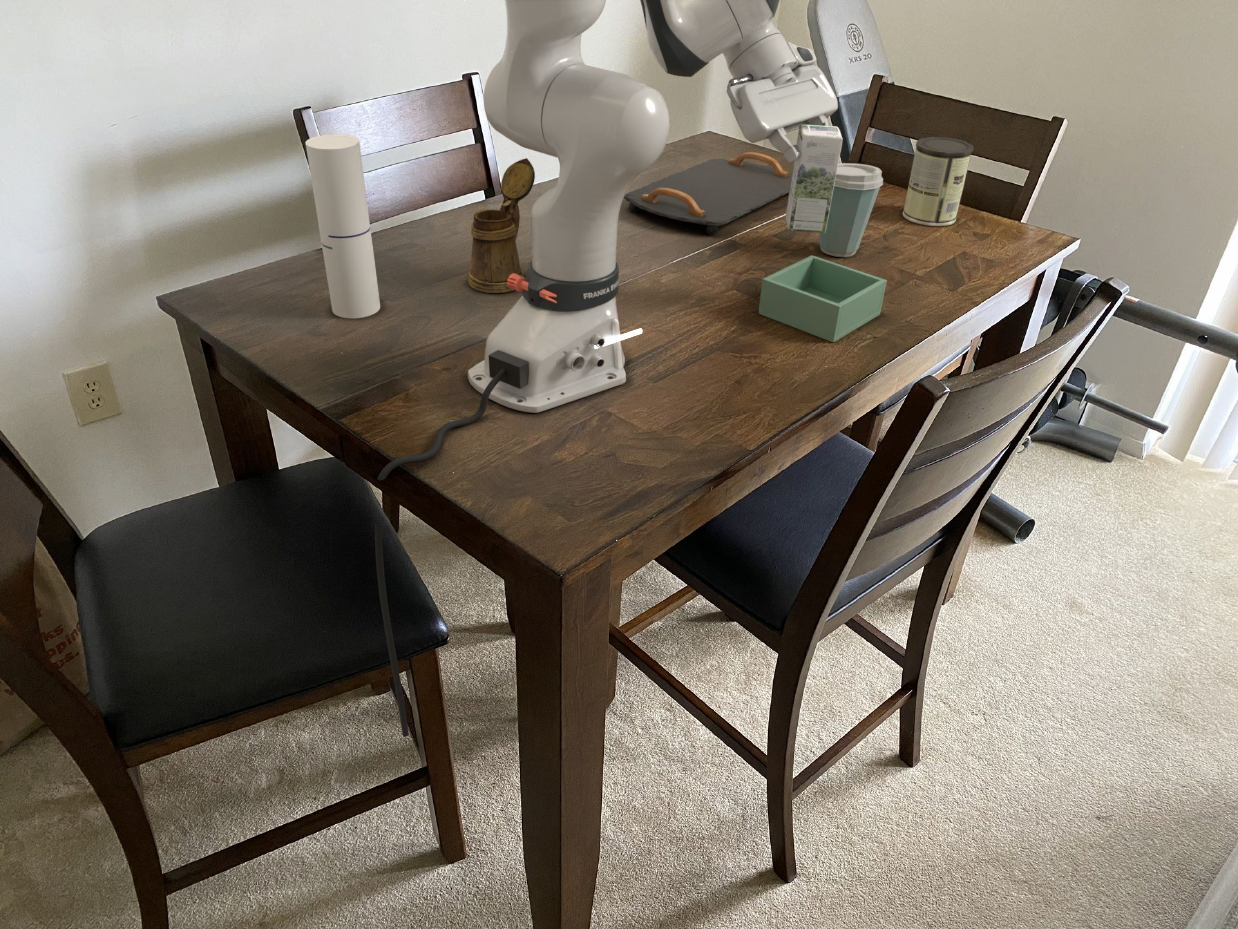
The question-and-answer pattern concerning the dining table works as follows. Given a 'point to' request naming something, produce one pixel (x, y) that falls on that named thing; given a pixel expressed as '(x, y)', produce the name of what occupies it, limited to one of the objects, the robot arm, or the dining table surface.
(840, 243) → the disposable coffee cup
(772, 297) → the open storage box
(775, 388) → the dining table surface
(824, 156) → the syrup box
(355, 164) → the cylindrical container
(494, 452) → the dining table surface
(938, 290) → the dining table surface
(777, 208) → the dining table surface
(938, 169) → the coffee can
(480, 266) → the wooden mug
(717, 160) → the serving tray
